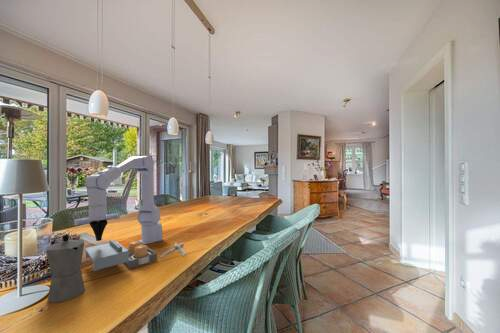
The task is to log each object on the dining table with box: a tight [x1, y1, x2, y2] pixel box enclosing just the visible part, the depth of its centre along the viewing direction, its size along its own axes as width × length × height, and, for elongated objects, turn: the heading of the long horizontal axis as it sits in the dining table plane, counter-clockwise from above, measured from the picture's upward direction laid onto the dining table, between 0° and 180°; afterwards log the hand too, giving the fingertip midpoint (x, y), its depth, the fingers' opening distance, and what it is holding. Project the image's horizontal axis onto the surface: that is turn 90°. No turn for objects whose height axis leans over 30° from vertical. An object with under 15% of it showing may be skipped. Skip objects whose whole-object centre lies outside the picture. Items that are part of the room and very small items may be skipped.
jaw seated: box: [135, 244, 148, 258], centre depth 89 cm, size 4×4×6 cm
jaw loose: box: [128, 240, 141, 253], centre depth 94 cm, size 4×4×6 cm
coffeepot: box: [45, 234, 86, 304], centre depth 68 cm, size 15×9×18 cm, turn 62°
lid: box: [84, 238, 129, 272], centre depth 84 cm, size 11×16×5 cm
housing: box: [123, 246, 158, 270], centre depth 92 cm, size 10×15×3 cm, turn 45°
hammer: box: [160, 241, 186, 259], centre depth 101 cm, size 10×2×15 cm
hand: (98, 240), depth 87 cm, fingers closed
